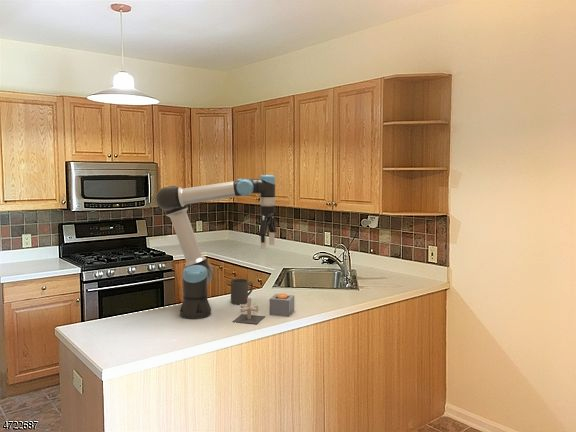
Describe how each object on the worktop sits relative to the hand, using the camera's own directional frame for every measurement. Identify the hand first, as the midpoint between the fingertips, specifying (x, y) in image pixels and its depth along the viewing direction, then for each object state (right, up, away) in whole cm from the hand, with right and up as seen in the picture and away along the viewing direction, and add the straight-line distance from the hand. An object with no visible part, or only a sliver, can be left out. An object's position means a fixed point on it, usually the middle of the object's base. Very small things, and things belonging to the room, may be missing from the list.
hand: (267, 246), depth 251 cm
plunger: (+8, -26, -7) cm, 28 cm away
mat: (-8, -34, -17) cm, 39 cm away
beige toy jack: (-8, -33, -17) cm, 38 cm away
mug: (-14, -31, +13) cm, 36 cm away
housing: (+8, -33, -6) cm, 34 cm away
